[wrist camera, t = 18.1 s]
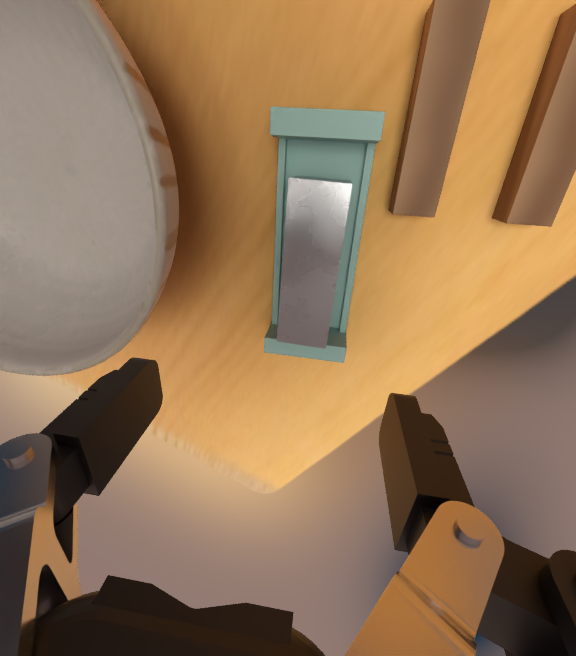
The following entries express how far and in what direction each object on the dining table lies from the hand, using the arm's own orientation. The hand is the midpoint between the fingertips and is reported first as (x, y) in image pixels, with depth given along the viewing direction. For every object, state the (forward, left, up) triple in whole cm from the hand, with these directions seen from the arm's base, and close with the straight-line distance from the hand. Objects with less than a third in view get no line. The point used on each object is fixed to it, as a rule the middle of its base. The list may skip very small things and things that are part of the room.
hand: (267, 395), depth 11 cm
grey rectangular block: (0, 0, -19) cm, 19 cm away
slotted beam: (+11, +10, -20) cm, 25 cm away
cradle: (0, +1, -20) cm, 20 cm away
